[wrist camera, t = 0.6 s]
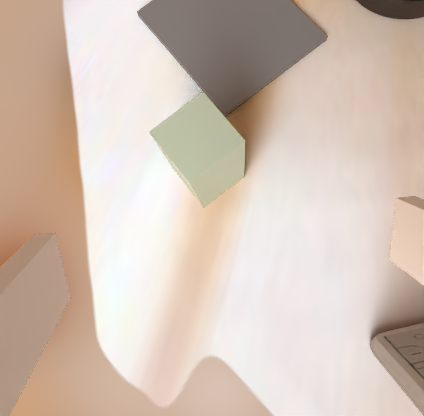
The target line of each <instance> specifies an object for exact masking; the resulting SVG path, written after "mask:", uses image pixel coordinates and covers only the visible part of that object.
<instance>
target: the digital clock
mask: <svg viewBox="0 0 424 416" xmlns="http://www.w3.org/2000/svg"><path fill="white" fill-rule="evenodd" d="M370 348H371V350H372V352H373V354H374V355H375V357H376V358H377V359H378V360H379V362H380V363H381V364H382V365H383V366H384V368H385V369H386V370H387V371H388V373H389V374H390V375H391V376H392V377H393V379H394V380H395V381H396V382H397V384H398V385H399V386H400V387H401V388H402V390H403V391H404V392H405V393H406V395H407V396H408V397H409V398H410V399H411V401H412V402H413V403H414V404H415V406H416V407H417V408H418V409H419V410H420V412H421V413H422V414H423V415H424V323H421V324H416V325H412V326H407V327H403V328H399V329H395V330H390V331H386V332H382V333H379V334H377V335H376V336H375V337H374V338H373V339H372V340H371V342H370Z"/></svg>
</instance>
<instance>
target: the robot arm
mask: <svg viewBox="0 0 424 416" xmlns="http://www.w3.org/2000/svg"><path fill="white" fill-rule="evenodd" d="M357 1H358V2H359V3H360V4H361V5H362V6H364V7H365V8H367V9H368V10H370V11H372V12H374V13H377V14H379V15H382V16H386V17H390V18H397V19H414V18H420V17H424V0H357ZM390 261H391V262H392V263H394V264H395V265H396V266H398V267H399V268H401V269H402V270H403V271H405V272H406V273H407V274H409V275H410V276H411V277H413V278H414V279H415V280H417V281H418V282H420V283H421V284H422V285H424V200H423V199H420V198H418V197H415V196H412V197H402V198H396V207H395V215H394V224H393V233H392V242H391V251H390ZM70 299H71V297H70V292H69V288H68V284H67V280H66V275H65V271H64V267H63V263H62V258H61V254H60V250H59V245H58V241H57V237H56V233H48V234H38V235H33V236H32V237H31V238H30V239H29V240H28V241H27V242H26V243H25V244H24V245H23V246H22V247H21V248H20V249H19V250H18V251H16V252H15V253H14V254H13V255H12V256H11V257H10V258H9V259H8V260H7V261H6V262H5V263H4V264H3V265H2V266H1V267H0V416H10V414H11V412H12V411H13V408H14V407H15V405H16V403H17V401H18V399H19V397H20V395H21V393H22V391H23V389H24V387H25V385H26V383H27V381H28V380H29V378H30V376H31V374H32V372H33V370H34V368H35V366H36V364H37V362H38V360H39V358H40V356H41V355H42V352H43V351H44V349H45V347H46V345H47V343H48V341H49V339H50V337H51V335H52V333H53V331H54V329H55V327H56V326H57V324H58V322H59V320H60V318H61V316H62V314H63V312H64V310H65V308H66V306H67V304H68V302H69V300H70Z"/></svg>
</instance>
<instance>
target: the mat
mask: <svg viewBox="0 0 424 416" xmlns="http://www.w3.org/2000/svg"><path fill="white" fill-rule="evenodd" d="M137 13H138V16H139V17H140V18H141V19H142V21H143V22H144V23H145V24H146V25H147V26H148V28H149V29H150V30H151V31H152V32H153V33H154V35H155V36H156V37H157V38H158V39H159V40H160V41H161V43H162V44H163V45H164V46H165V47H166V48H167V50H168V51H169V52H170V53H171V54H172V55H173V57H174V58H175V59H176V60H177V61H178V62H179V64H180V65H181V66H182V67H183V68H184V69H185V70H186V72H187V73H188V74H189V75H190V76H191V77H192V79H193V80H194V81H195V82H196V83H197V84H198V86H199V87H200V88H201V89H202V90H203V91H204V92H205V94H206V95H207V96H208V97H209V98H210V99H211V101H212V102H213V103H214V104H215V105H216V106H217V108H218V109H219V110H220V111H221V112H222V113H223V114H224V116H227V115H228V114H229V113H231V112H232V111H233V110H235V109H236V108H237V107H239V106H240V105H241V104H242V103H244V102H245V101H246V100H248V99H249V98H250V97H252V96H253V95H254V94H256V93H257V92H258V91H260V90H261V89H262V88H264V87H265V86H266V85H268V84H269V83H270V82H272V81H273V80H274V79H276V78H277V77H278V76H280V75H281V74H282V73H283V72H285V71H286V70H287V69H289V68H290V67H291V66H293V65H294V64H295V63H297V62H298V61H299V60H301V59H302V58H303V57H305V56H306V55H307V54H309V53H310V52H311V51H313V50H314V49H315V48H317V47H318V46H319V45H321V44H322V43H323V42H325V41H326V39H327V35H326V34H325V33H324V32H323V31H322V30H321V29H320V28H319V27H318V26H317V25H316V24H315V23H314V22H313V21H312V20H311V19H310V18H309V17H308V16H307V15H306V14H305V13H303V12H302V11H301V10H300V9H299V8H298V7H297V6H296V5H295V4H294V3H293V2H292V1H291V0H153V1H151V2H150V3H148V4H147V5H146V6H144V7H143V8H142V9H140V10H139V11H137Z"/></svg>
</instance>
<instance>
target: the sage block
mask: <svg viewBox="0 0 424 416" xmlns="http://www.w3.org/2000/svg"><path fill="white" fill-rule="evenodd" d="M150 134H151V135H152V137H153V138H154V140H155V141H156V143H157V144H158V146H159V147H160V149H161V151H162V152H163V154H164V155H165V157H166V158H167V160H168V161H169V163H170V164H171V166H172V167H173V169H174V170H175V172H176V173H177V174H178V175H179V177H180V178H181V179H182V181H183V182H184V183H185V184H186V186H187V187H188V188H189V190H190V191H191V192H192V193H193V195H194V196H195V197H196V199H197V200H198V201H199V202H200V204H201V205H202V206H203V207H204V208H205V207H206V206H207V205H209V204H210V203H211V202H213V201H214V200H215V199H216V198H218V197H219V196H220V195H222V194H223V193H224V192H226V191H227V190H228V189H229V188H231V187H232V186H233V185H235V184H236V183H237V182H238V181H240V180H241V179H242V178H244V167H245V140H244V138H243V137H242V136H241V135H240V134H239V133H238V132H237V130H236V129H235V128H234V127H233V126H232V125H231V123H230V122H229V121H228V120H227V119H226V118H225V116H224V115H223V114H222V113H221V112H220V111H219V110H218V108H217V107H216V106H215V105H214V104H213V103H212V101H211V100H210V99H209V98H208V97H207V96H206V94H205V93H204V92H202V93H200V94H199V95H198V96H196V97H195V98H194V99H192V100H191V101H190V102H188V103H187V104H186V105H184V106H183V107H182V108H180V109H179V110H178V111H176V112H175V113H174V114H172V115H171V116H170V117H168V118H167V119H166V120H164V121H163V122H162V123H160V124H159V125H158V126H156V127H155V128H154V129H152V130H151V131H150Z"/></svg>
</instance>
